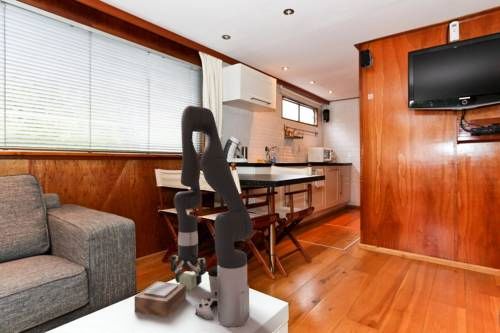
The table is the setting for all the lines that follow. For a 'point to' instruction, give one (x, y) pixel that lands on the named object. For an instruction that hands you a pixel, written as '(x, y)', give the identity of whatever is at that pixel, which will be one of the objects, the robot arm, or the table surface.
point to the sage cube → (188, 279)
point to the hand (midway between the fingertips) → (188, 283)
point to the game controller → (206, 307)
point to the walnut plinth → (160, 298)
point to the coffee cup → (213, 281)
